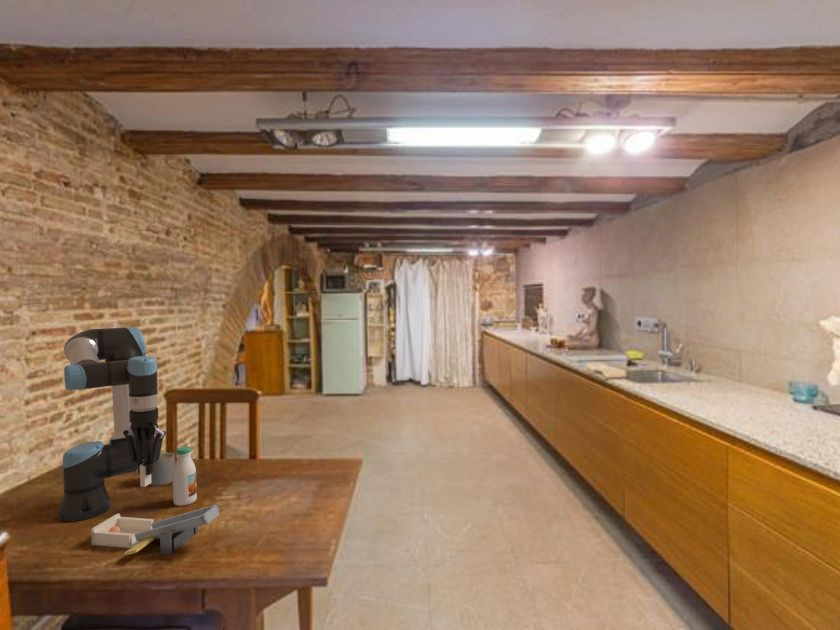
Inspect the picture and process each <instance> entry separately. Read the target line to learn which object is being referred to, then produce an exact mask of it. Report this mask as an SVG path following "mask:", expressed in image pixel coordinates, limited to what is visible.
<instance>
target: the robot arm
mask: <svg viewBox="0 0 840 630" xmlns="http://www.w3.org/2000/svg"><path fill="white" fill-rule="evenodd" d="M144 337H145V336H144V335H143V332H142V331H141V329H140V328H138V327H127V326H125V327H111V328H109V327H108V328H106V327H105V328H89V329H87V330H83V331H81V332H78V333H76V334H75V335H73V336H71V337H70V338H69V339H68V340H67V341H66V342H65V344H64V347H63V352H64V356H65V358H66V359H67V361H69V365H65V366H64V368H63V378H64V379H63V380H64V388H65V390H67V391H75V390H77V391H82V390H87V389H89V390H90V389H96V388H106V387H111V394H112V395H111V397H112V412H113V413H112V415H113V428H114V429H113V430H114V432H113V434H112V436H111V437H110V438H109V443H108V444H104V442H103V441H101V440H100V441H99V440H97V441H95V440H94V441H87V442H84V443H81V444H77V445H75V446H73V447H71V448H69V449H67V450H66V451H65V452H64V453H63V455H62V465H61V468H62V476H63V477H62V479H63V480H62V481H63V482H62V484H63V495H62V499H61V502H60V506H59V508H58V510H57V519H58V520H59V521H62V522H78V521H84V520H88V519H91V518H94V517H96V516H99V515H102V514H104V513H106V512H107V511H108V510H110V508H111V507H112V498H111V496H110V495H109V492H108V490H107V487H106V486H105V484H106V483H105V479H107V478H108V479H109V478H113V477H117V476H122V475H126V474H130V473H138V475H139V481H140V483H139V485H140V487H144V488H145V487H147V486H148V485H149V484H151V483H152V481H151V474H152V473H153V463H154V462H156V461H158V460H159V457H160V453H162V446H163V441H164V438H165V436H166V435H167V432H166V431H165V430H163V431H162V430H161V429H160V428H159V424H158V419H159V407H158V406H159V391H158V388H159V386H158V370H159V368H158V367H159V366H158V360H157V357H155V356H151V355H147V350H146V349H147V348H146V347H147V346H146V342H145V338H144ZM149 486H150V485H149Z"/></svg>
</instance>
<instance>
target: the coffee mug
mask: <svg viewBox="0 0 840 630" xmlns="http://www.w3.org/2000/svg"><path fill="white" fill-rule="evenodd" d="M175 456H176V455H175V453H173V452H160V457H159V460H158V461H156V462H154V463H153V473H152V474H151V481H152V483H151V484H149V486H153V487H157V486H163V485H168V484H170V483H173V469H174V466H175V464H176V462H175Z"/></svg>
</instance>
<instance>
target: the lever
mask: <svg viewBox="0 0 840 630" xmlns="http://www.w3.org/2000/svg"><path fill="white" fill-rule="evenodd" d="M220 509H221V508H220V506H219V504H218V503H217V504H212V505H210V506H206V507H202V508H199V509H195V510H191V511H187V512H188V513H187V512H186V513H181V514H178V515H175V516H171V517H167V518H165V519H160V520H158V521H153V523H152V524H151V525H152V528H153V529H151V530H148V531H144V532H141V533H137V534H135V538H136V541H139V542H138V543H137V544H135V545H134V546H132V547H131V548H128V550H126V551H124V552H123V553H124V556H125V557H126V556H128V555H133V554H136V553H138V552H139V551H141V550H142V549H144V548H145V547H146V546H148V545H149V544H150V543H151V542H153V541H154V540H155V539H158V538H159V539H160V532H161V531H172V535H173V534H174V533H177V532H181V531H184V530H188V529H192V528H195V527H197V528H199V527H201V526H206V525H208V524H210V523H211V522H213V520H215V519H216V518H217V517H218V516H219V515H220Z"/></svg>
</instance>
